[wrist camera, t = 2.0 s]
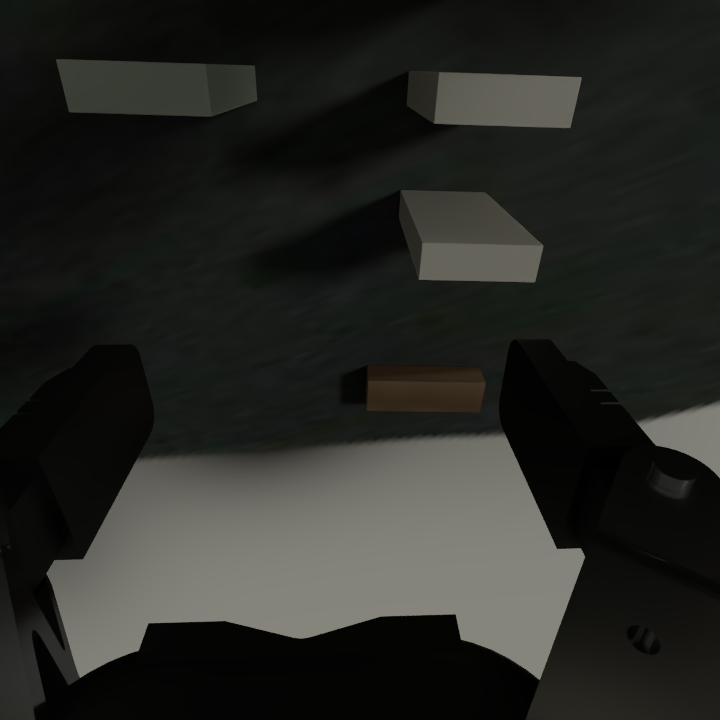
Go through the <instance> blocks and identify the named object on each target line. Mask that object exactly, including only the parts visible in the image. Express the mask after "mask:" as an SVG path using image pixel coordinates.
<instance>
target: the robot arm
mask: <svg viewBox="0 0 720 720" xmlns="http://www.w3.org/2000/svg"><path fill="white" fill-rule="evenodd" d="M618 403H619V402H618V400H617V399H616V398H615V397H614V396H613V394H612V393H611V392H608V389H607V387H606V386H605V385H604V384H603V383H602V381H601V380H600V379H599V378H598V377H597V376H596V374H594V373H593V372H591V371H590V370H588V369H586V368H585V367H583V366H582V365H580V364H578V363H577V362H575V361H567V360H566V359H565V357H564V356H563V355H562V353H561V352H560V351H559V350H558V348H557V347H556V346H555V345H554V343H553V342H552V341H551V340H549V339H522V340H513V341H512V342H511V344H510V346H509V350H508V355H507V361H506V366H505V372H504V378H503V383H502V389H501V395H500V401H499V414H500V421H501V425H502V428H503V430H504V432H505V435H506V437H507V439H508V441H509V443H510V446H511V448H512V450H513V452H514V454H515V457H516V459H517V461H518V463H519V465H520V468H521V470H522V472H523V474H524V477H525V479H526V481H527V483H528V485H529V488H530V490H531V492H532V494H533V496H534V499H535V501H536V503H537V505H538V508H539V510H540V512H541V514H542V516H543V519H544V521H545V523H546V525H547V528H548V530H549V532H550V534H551V536H552V539H553V541H554V543H555V545H556V547H557V549H566V548H581V549H582V551H583V553H584V555H585V559H584V562H583V565H582V567H581V570H580V573H579V575H578V578H577V581H576V584H575V586H574V589H573V592H572V595H571V597H570V600H569V603H568V605H567V608H566V611H565V613H564V616H563V619H562V622H561V625H560V627H559V630H558V633H557V635H556V638H555V641H554V643H553V646H552V649H551V652H550V654H549V657H548V660H547V663H546V665H545V668H544V671H543V673H542V677H541V679H540V680H539V679H537V678H536V677H535V676H534V675H532V674H531V673H529V671H527V670H526V669H524V668H522V667H521V666H519V665H518V664H516V663H515V662H513V661H512V660H510V659H508V658H506V657H505V656H503V655H500V654H498V653H497V652H495V651H493V650H491V649H488V648H485V647H482V646H480V645H477V644H474V643H471V642H467V641H463V640H461V639H460V634H459V629H458V624H457V619H456V615H422V616H387V617H378V618H375V619H371V620H368V621H365V622H361V623H358V624H354V625H351V626H348V627H344V628H341V629H337V630H334V631H331V632H327V633H324V634H320V635H317V636H313V637H310V638H304V639H298V638H292V637H288V636H284V635H280V634H276V633H271V632H267V631H263V630H259V629H255V628H251V627H247V626H242V625H238V624H234V623H230V622H226V621H218V622H187V623H186V622H184V623H183V622H182V623H149V624H148V626H147V629H146V632H145V635H144V638H143V640H142V643H141V646H140V649H139V651H137V652H133V653H130V654H128V655H125V656H122V657H120V658H118V659H115V660H113V661H110V662H108V663H106V664H104V665H102V666H101V667H99V668H97V669H95V670H93V671H91V672H89V673H87V674H86V675H84V676H83V677H81V678H80V677H79V675H78V672H77V669H76V666H75V664H74V660H73V657H72V653H71V650H70V646H69V643H68V639H67V636H66V632H65V629H64V626H63V622H62V619H61V616H60V612H59V608H58V605H57V601H56V598H55V594H54V591H53V588H52V584H51V582H50V580H49V578H48V576H47V574H46V573H47V571H48V569H49V568H50V566H51V565H52V563H53V561H54V560H69V559H71V560H72V559H83V558H84V556H85V555H86V553H87V551H88V549H89V547H90V545H91V543H92V542H93V540H94V538H95V536H96V534H97V532H98V530H99V528H100V527H101V525H102V523H103V521H104V519H105V517H106V515H107V514H108V512H109V510H110V508H111V506H112V504H113V502H114V501H115V499H116V497H117V495H118V493H119V491H120V489H121V488H122V485H123V484H124V482H125V480H126V478H127V476H128V475H129V473H130V471H131V469H132V467H133V465H134V463H135V462H136V460H137V458H138V456H139V454H140V452H141V450H142V448H143V447H144V445H145V443H146V441H147V439H148V437H149V435H150V433H151V431H152V428H153V422H154V408H153V403H152V399H151V395H150V391H149V388H148V384H147V380H146V376H145V372H144V369H143V365H142V361H141V357H140V354H139V352H138V350H137V348H136V347H135V346H134V345H131V344H129V345H94V346H92V347H91V348H90V349H89V350H88V351H87V353H86V354H85V355H84V356H83V357H82V358H81V359H80V360H79V361H78V362H77V363H76V364H75V366H74V367H73V368H68V369H67V370H65V371H63V372H62V373H60V374H58V375H57V376H55V377H53V378H52V379H50V380H48V381H46V382H45V383H44V384H43V385H42V386H41V387H40V388H39V389H38V390H37V391H36V392H35V393H34V394H33V395H32V396H31V397H30V401H27V402H26V403H25V404H24V405H23V406H22V407H21V408H20V409H19V410H18V411H17V415H13V416H12V417H11V418H10V419H9V420H8V421H7V422H6V423H5V424H4V425H3V426H2V427H1V428H0V720H720V478H719V477H718V476H717V475H716V474H715V473H714V472H713V471H712V470H711V469H710V468H709V467H707V466H706V465H705V464H703V463H702V462H700V461H698V460H697V459H695V458H693V457H691V456H689V455H687V454H685V453H682V452H679V451H677V450H673V449H670V448H665V447H659V446H656V445H655V444H654V443H653V442H652V441H651V440H650V438H649V437H648V436H647V435H646V434H645V432H644V431H643V430H642V429H641V428H640V426H639V425H638V424H637V423H636V422H635V421H634V419H633V418H632V417H631V416H630V415H629V413H628V412H627V411H626V410H625V409H624V408H623V406H622V405H619V404H618Z"/></svg>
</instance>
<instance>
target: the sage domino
mask: <svg viewBox="0 0 720 720" xmlns="http://www.w3.org/2000/svg"><path fill="white" fill-rule="evenodd" d="M56 61H57V65H58V69H59V73H60V77H61V81H62V86H63V90H64V94H65V98H66V102H67V106H68V110H69V112H78V113H110V114H142V115H174V116H206V117H212V116H215V115H218V114H221V113H223V112H226V111H229V110H232V109H235V108H238V107H241V106H243V105H246V104H249V103H252V102H255V101H257V90H256V76H255V66H251V65H222V64H194V63H165V62H133V61H100V60H68V59H56Z"/></svg>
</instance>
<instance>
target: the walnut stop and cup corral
mask: <svg viewBox="0 0 720 720" xmlns="http://www.w3.org/2000/svg"><path fill="white" fill-rule="evenodd" d="M485 384H486V382H485V380H484V378H483V375H482V373H481V371H480V368H479V367H433V366H371V365H367V385H366V403H367V411H427V412H480V409H481V404H482V399H483V394H484V389H485Z"/></svg>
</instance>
